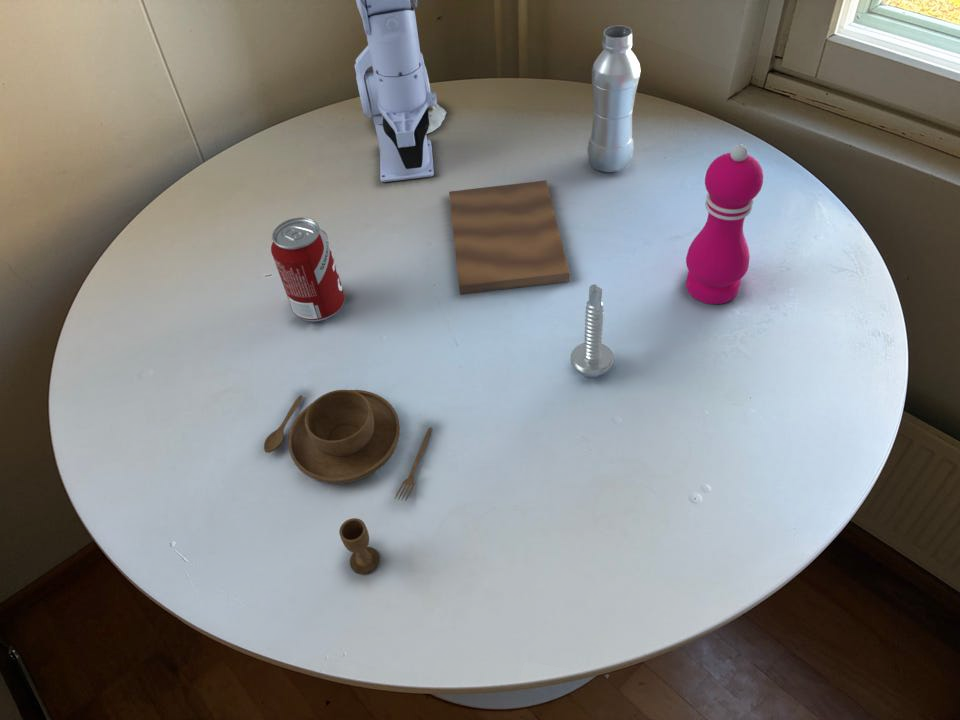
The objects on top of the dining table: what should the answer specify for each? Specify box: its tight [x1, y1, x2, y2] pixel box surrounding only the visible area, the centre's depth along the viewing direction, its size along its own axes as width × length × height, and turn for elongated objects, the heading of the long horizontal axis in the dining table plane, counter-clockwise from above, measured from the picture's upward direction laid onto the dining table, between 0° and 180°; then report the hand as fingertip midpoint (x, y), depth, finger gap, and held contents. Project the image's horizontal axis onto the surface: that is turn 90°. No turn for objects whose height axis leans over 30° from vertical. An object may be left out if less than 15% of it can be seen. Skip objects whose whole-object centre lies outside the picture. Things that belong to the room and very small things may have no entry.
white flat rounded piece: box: [426, 103, 448, 135], centre depth 124 cm, size 12×12×4 cm
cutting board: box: [448, 179, 571, 295], centre depth 103 cm, size 20×14×2 cm
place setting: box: [263, 389, 433, 575], centre depth 78 cm, size 18×20×6 cm
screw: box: [569, 284, 615, 379], centre depth 82 cm, size 13×5×5 cm
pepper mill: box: [685, 143, 764, 305], centre depth 87 cm, size 7×7×20 cm
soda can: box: [270, 216, 346, 322], centre depth 93 cm, size 7×7×12 cm
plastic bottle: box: [587, 25, 642, 173], centre depth 106 cm, size 6×7×20 cm
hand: (413, 165), depth 99 cm, fingers closed
